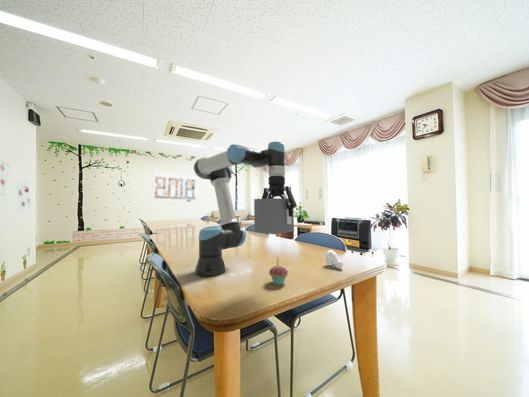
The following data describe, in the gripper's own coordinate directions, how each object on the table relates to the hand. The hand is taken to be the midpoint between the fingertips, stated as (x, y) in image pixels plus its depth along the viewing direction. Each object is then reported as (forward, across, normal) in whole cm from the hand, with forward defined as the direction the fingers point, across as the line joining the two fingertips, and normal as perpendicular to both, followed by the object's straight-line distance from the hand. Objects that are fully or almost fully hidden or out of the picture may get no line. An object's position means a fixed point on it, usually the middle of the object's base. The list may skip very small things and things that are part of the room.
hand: (277, 223), depth 93 cm
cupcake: (+27, 0, +1) cm, 27 cm away
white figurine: (+27, +10, +40) cm, 49 cm away
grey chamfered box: (+3, 0, -2) cm, 4 cm away
